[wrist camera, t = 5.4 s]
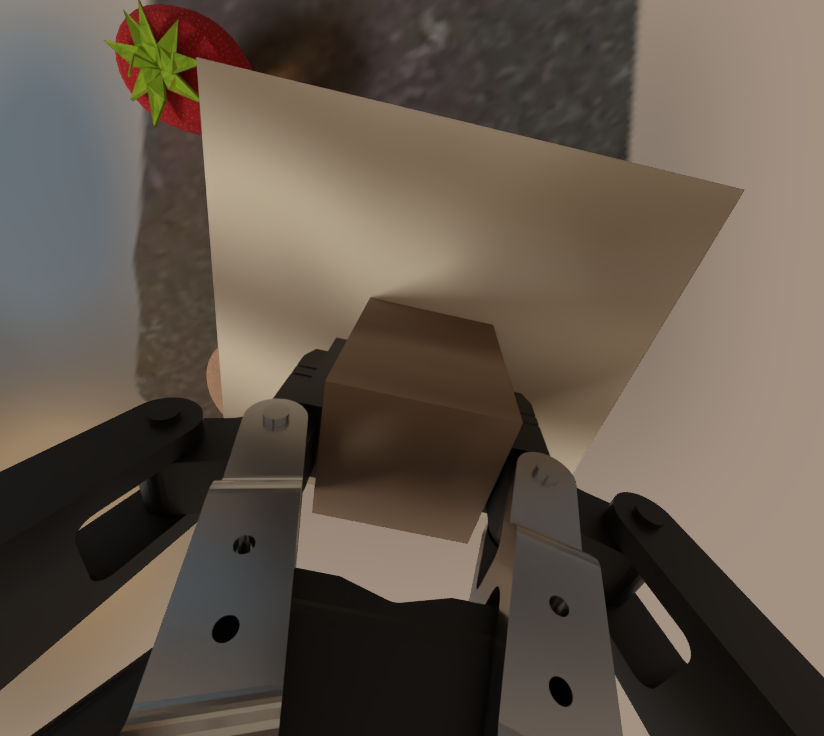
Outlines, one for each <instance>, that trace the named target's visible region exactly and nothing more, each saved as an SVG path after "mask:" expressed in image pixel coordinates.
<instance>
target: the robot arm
mask: <svg viewBox="0 0 824 736" xmlns="http://www.w3.org/2000/svg"><path fill="white" fill-rule="evenodd" d="M346 341H347V339H342V338H338V337H337V338H336V339H335V340H334V342H333V344H332V345H331V347H330V348H329V350H328V351H325V350H320V349H315V350H313V351H311V352H309V353H307V354H305V355H304V356H303V357H302V359H301V360H300V361H299V363H298V364H297V366H296V367H295V368H294V370H293V371H292V374H290V375H289V377H288V378H287V379H286V381H285V382H284V384H283V385H282V386H281V388H280V389H279V390H278V392H277V393H276V395H275V396H274V397H273V399H268V400H263V401H260V402H257V403H255V404H253V405H252V406H250V407H249V408H248V409H247V410H246V411H245V413H244V415H243V417H237V418H203V411H202V408H201V407H200V406H199V405H198V404H197V403H195V402H194V401H191V400H188V399H184V398H162V399H156V400H152V401H149V402H146V403H144V404H142V405H139V406H137V407H135V408H133V409H131V410H129V411H127V412H125V413H122V414H120V415H118V416H116V417H115V418H112V419H110V420H108V421H106V422H104V423H102V424H100V425H97V426H95V427H93V428H91V429H89V430H87V431H85V432H83V433H81V434H79V435H76V436H75V437H72V438H70V439H68V440H66V441H64V442H62V443H60V444H58V445H56V446H53V447H51V448H50V449H47V450H45V451H43V452H41V453H39V454H37V455H35V456H33V457H31V458H28V459H26V460H24V461H22V462H20V463H18V464H16V465H14V466H12V467H9V468H7V469H5V470H3V471H1V472H0V690H1V689H2V688H4V687H5V686H6V685H7V684H8V683H10V682H11V681H12V680H13V679H14V678H15V677H17V676H18V675H19V674H20V673H21V672H22V671H24V670H25V669H26V668H27V667H28V666H29V665H31V664H32V663H33V662H34V661H35V660H36V659H38V658H39V657H40V656H41V655H42V654H43V653H45V652H46V651H47V650H48V649H49V648H50V647H52V646H53V645H54V644H55V643H56V642H58V641H59V640H60V639H61V638H62V637H63V636H65V635H66V634H67V633H68V632H69V631H70V630H72V629H73V628H74V627H75V626H76V625H77V624H79V623H80V622H81V621H82V620H83V619H84V618H85V617H87V616H88V615H89V614H90V613H91V612H93V611H94V610H95V609H96V608H97V607H98V606H99V605H101V604H102V603H103V602H104V601H105V600H107V599H108V598H109V597H110V596H111V595H113V594H114V593H115V592H116V591H117V590H118V589H120V587H122V586H123V585H124V584H125V583H127V582H128V581H129V580H130V579H131V578H132V577H133V576H135V575H136V574H137V573H138V572H139V571H141V570H142V569H143V568H144V567H145V566H146V565H148V564H149V563H150V562H151V561H152V560H153V559H155V558H156V557H157V556H158V555H159V554H160V553H162V552H163V551H164V550H165V549H166V548H167V547H169V546H170V545H171V544H172V543H173V542H174V541H176V540H177V539H178V538H179V537H180V536H181V535H183V534H184V533H185V532H186V531H187V530H189V529H190V528H191V527H192V526H193V525H194V524H196V523H197V524H196V527H195V530H194V533H193V536H192V539H191V541H190V544H189V547H188V550H187V553H186V556H185V558H184V561H183V564H182V567H181V570H180V573H179V575H178V578H177V581H176V584H175V587H174V590H173V592H172V595H171V598H170V601H169V604H168V607H167V610H166V612H165V615H164V618H163V621H162V624H161V626H160V629H159V632H158V635H157V638H156V641H155V643H154V646H153V648H151V649H150V650H149V651H147V652H146V653H144V654H143V655H142V656H140V657H139V658H137V659H136V660H135V661H134V662H132V663H131V664H129V665H128V666H127V667H125V668H124V669H122V670H121V671H120V672H118V673H117V674H116V675H114V676H113V677H111V678H110V679H108V680H107V681H106V682H104V683H103V684H102V685H100V686H99V687H98V688H96V689H95V690H93V691H92V692H91V693H89V694H88V695H86V696H85V697H84V698H82V699H81V700H80V701H78V702H77V703H75V704H74V705H73V706H71V707H70V708H68V709H67V710H66V711H64V712H63V713H62V714H60V715H59V716H57V717H56V718H55V719H53V720H52V721H51V722H49V723H48V724H47V725H45V726H44V727H42V728H41V729H39V730H38V731H37V732H35V733H34V734H32V736H623V734H622V726H621V719H620V711H619V704H618V696H617V689H616V681H615V675H616V677H617V679H618V681H619V682H620V684H621V686H622V688H623V689H624V691H625V693H626V695H627V696H628V698H629V700H630V701H631V703H632V705H633V707H634V709H635V710H636V712H637V714H638V716H639V717H640V719H641V721H642V723H643V724H644V726H645V728H646V730H647V731H648V733H649V735H650V736H824V677H823V676H822V675H821V674H820V673H819V672H818V671H817V670H816V669H815V668H814V667H813V666H812V665H811V664H810V663H809V661H808V660H807V659H806V658H805V657H804V656H803V655H802V654H801V653H800V652H799V651H798V650H797V649H796V648H795V647H794V646H793V645H792V644H791V643H790V641H789V640H788V639H786V637H785V636H784V635H783V634H782V633H781V632H780V631H779V630H778V629H777V628H776V627H775V626H774V625H773V624H772V623H771V622H770V620H769V619H768V618H767V617H766V616H765V615H764V614H763V613H762V612H761V611H760V610H759V609H758V608H757V607H756V606H755V605H754V604H753V603H752V602H751V600H750V599H749V598H748V597H747V596H746V595H745V594H744V593H743V592H742V591H741V590H740V589H739V588H738V587H737V586H736V585H735V584H734V582H733V581H732V580H731V579H730V578H729V577H728V576H727V575H726V574H725V573H724V572H723V571H722V570H721V569H720V568H719V567H718V566H717V565H716V564H715V563H714V562H713V560H712V559H711V558H710V557H709V556H708V555H707V554H706V553H705V552H704V551H703V550H702V549H701V548H700V547H699V546H698V545H697V544H696V543H695V541H694V540H693V539H692V538H691V537H690V536H689V535H688V534H687V533H686V532H685V531H684V530H683V529H682V528H681V527H680V526H679V525H678V524H677V523H676V521H675V520H674V519H673V518H672V517H671V516H670V515H669V514H668V513H667V512H666V511H665V510H663V509H662V508H661V507H660V506H658V505H657V504H655V503H654V502H652V501H651V500H649V499H647V498H645V497H643V496H640V495H638V494H634V493H629V492H623V493H619V494H617V495H616V496H615V497H614V499H613V500H612V501H611V503H608V502H606V501H604V500H601V499H599V498H597V497H595V496H593V495H590V494H588V493H586V492H584V491H582V490H580V489H578V488H577V486H576V481H575V479H574V477H573V475H572V473H571V472H570V471H569V470H568V468H566V467H565V466H564V465H563V464H562V463H561V462H559V461H558V460H556V459H555V458H553V457H551V456H550V454H549V451H548V448H547V446H546V443H545V440H544V437H543V435H542V432H541V429H540V427H539V424H538V421H537V418H535V416H536V415H535V413H534V410H533V407H532V404H531V403H530V402H529V401H528V400H527V399H526V398H525V397H524V396H523V394H522V393H518V392H514V391H513V392H514V395H515V398H516V402H517V405H518V408H519V412H520V415H521V418H522V421H523V424H522V426H521V428H520V431H519V433H518V435H517V437H516V439H515V441H514V444H513V446H512V448H511V450H510V452H509V454H508V457H507V459H506V461H505V463H504V465H503V467H502V470H501V472H500V474H499V476H498V478H497V480H496V483H495V485H494V487H493V489H492V491H491V494H490V496H489V498H488V500H487V502H486V504H485V507H484V509H483V511H482V512H483V513H487V517H488V522H487V524H486V526H485V529H484V531H483V534H482V539H481V544H480V548H479V553H478V559H477V564H476V569H475V574H474V579H473V584H472V589H471V594H470V598H469V601H465V600H459V599H454V598H447V599H436V600H426V601H415V602H404V603H395V602H391V601H388V600H386V599H384V598H382V597H380V596H378V595H376V594H374V593H372V592H370V591H368V590H366V589H364V588H362V587H360V586H358V585H356V584H354V583H352V582H350V581H348V580H346V579H344V578H342V577H340V576H335V575H330V574H325V573H320V572H315V571H310V570H305V569H300V568H296V561H297V551H298V539H299V528H300V516H301V505H302V492H303V491H304V489H305V486H306V484H307V482H308V479H309V477H313V478H316V469H317V458H318V448H319V438H320V427H321V417H322V407H323V397H324V386H325V380H326V378H327V376H328V374H329V373H330V371H331V369H332V367H333V365H334V363H335V361H336V360H337V358H338V356H339V354H340V352H341V350H342V349H343V347H344V345H345V343H346ZM509 379H510V378H509ZM510 382H511V381H510ZM511 385H512V384H511ZM512 388H513V387H512ZM138 485H139V487H140V490H138V491H137V492H136V493H134V494H132V495H131V496H130V497H128V498H127V499H125V500H124V501H122V502H121V503H119V504H118V505H116V506H115V507H113V508H112V509H110V510H109V511H107V512H106V513H104V514H103V515H101V516H100V517H98V518H97V519H95V520H94V521H92V522H91V523H89V524H88V525H86V526H85V527H83V528H82V529H81V530H79V529H80V527H81V526H82V525H83V524H84V522H85V521H86V520H88V519H89V518H90V517H91V516H92V515H94V514H95V513H97V512H98V511H100V510H101V509H103V508H104V507H106V506H107V505H109V504H110V503H112V502H114V501H115V500H116V499H118V498H119V497H121V496H122V495H124V494H126V493H127V492H129V491H130V490H132V489H133V488H135V487H136V486H138ZM78 530H79V531H78ZM643 583H646V584H647V585H648V587H649V588H650V589H651V591H652V592H653V593H654V594H655V596H656V597H657V599H658V600H659V601H660V603H661V604H662V605H663V606H664V608H665V609H666V610H667V612H668V613H669V614H670V616H671V617H672V618H673V619H674V621H675V622H676V624H677V625H678V626H679V628H680V629H681V630H682V632H683V633H684V635H685V637H686V638H687V640H688V643H689V646H690V650H691V659H690V661H689V663H688V664H687V663H686V662H685V661H684V660H683V659H682V657H681V656H680V655H679V653H678V652H677V650H676V649H675V648H674V646H673V645H672V643H671V642H670V641H669V639H668V638H667V637H666V635H665V634H664V632H663V631H662V630H661V628H660V627H659V625H658V624H657V623H656V621H655V620H654V618H653V617H652V616H651V614H650V613H649V611H648V610H647V609H646V607H645V606H644V604H643V603H642V602H641V600H640V599H639V597H638V596H637V595H636V593H635V592H636V591H637V590H638V589H639V588H640V587H641V586H642V585H643Z"/></svg>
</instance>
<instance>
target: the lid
mask: <svg viewBox="0 0 824 736" xmlns="http://www.w3.org/2000/svg"><path fill="white" fill-rule="evenodd" d="M196 62H197V75H198V88H199V101H200V114H201V127H202V140H203V153H204V166H205V179H206V192H207V205H208V218H209V231H210V244H211V257H212V270H213V283H214V296H215V309H216V322H217V335H218V348H219V362H220V375H221V388H222V401H223V414H224V418H237V417H243V415H244V413H245V411H246V410H247V409H248V408H249V407H250V406H252V405H253V404H255V403H257V402H260V401H263V400H268V399H273V397H274V396H275V395H276V393H277V392H278V390H279V389H280V388H281V386H282V385H283V384H284V382H285V381H286V379H287V378H288V377H289V375H290V374H292V371H293V370H294V368H295V367H296V366H297V364H298V363H299V361H300V360H301V359H302V357H303V356H304V355H305V354H307V353H309V352H311V351H313V350H315V349H320V350H325V351H328V350H329V348H330V347H331V345H332V344H333V342H334V340H335V339H336V338H337V337H338V338H342V339H347V341H346V343H345V345H344V347H343V349H342V350H341V352H340V354H339V356H338V358H337V360H336V361H335V363H334V365H333V367H332V369H331V371H330V373H329V374H328V376H327V378H326V380H325V386H324V397H323V407H322V417H321V427H320V438H319V448H318V458H317V469H316V478H313V477H309V479H308V482H307V483H308V484H313V485H315V489H314V499H313V511H312V512H313V513H316V514H322V515H326V516H332V517H336V518H341V519H347V520H351V521H356V522H361V523H367V524H372V525H376V526H381V527H386V528H391V529H397V530H401V531H407V532H411V533H416V534H421V535H426V536H431V537H436V538H442V539H447V540H451V541H456V542H462V543H466V544H467V543H468V541H469V539H470V537H471V535H472V532H473V530H474V528H475V526H476V524H477V522H478V520H479V518H481V519H486V520H488V517H487V513H483V512H482V511H483V509H484V507H485V504H486V502H487V500H488V498H489V496H490V494H491V491H492V489H493V487H494V485H495V483H496V480H497V478H498V476H499V474H500V472H501V470H502V467H503V465H504V463H505V461H506V459H507V457H508V454H509V452H510V450H511V448H512V446H513V444H514V441H515V439H516V437H517V435H518V433H519V431H520V428H521V426H522V424H523V421H522V418H521V415H520V412H519V408H518V405H517V402H516V398H515V395H514V392H518V393H522V394H523V396H524V397H525V398H526V399H527V400H528V401H529V402H530V403H531V404H532V407H533V410H534V413H535V415H536V416H535V418H537V421H538V424H539V427H540V429H541V432H542V435H543V437H544V440H545V443H546V446H547V448H548V451H549V454H550V456H551V457H553V458H555V459H556V460H558V461H559V462H561V463H562V464H563V465H564V466H565V467H566V468H568V470H569V471H570V472H571V473H572V474H573V473H574V471H575V469H576V468H577V466H578V464H579V463H580V461H581V459H582V458H583V456H584V454H585V453H586V451H587V449H588V448H589V446H590V444H591V443H592V441H593V440H594V438H595V436H596V434H597V433H598V431H599V430H600V428H601V426H602V425H603V423H604V421H605V420H606V418H607V416H608V415H609V413H610V411H611V410H612V408H613V406H614V405H615V403H616V402H617V400H618V398H619V396H620V395H621V393H622V392H623V390H624V388H625V387H626V385H627V383H628V382H629V380H630V378H631V377H632V375H633V373H634V371H635V370H636V368H637V367H638V365H639V364H640V362H641V360H642V359H643V357H644V355H645V353H646V352H647V350H648V349H649V347H650V345H651V344H652V342H653V340H654V339H655V337H656V335H657V334H658V332H659V330H660V329H661V327H662V326H663V324H664V322H665V321H666V319H667V317H668V315H669V314H670V312H671V311H672V309H673V307H674V306H675V304H676V302H677V301H678V299H679V297H680V296H681V294H682V292H683V291H684V289H685V287H686V286H687V284H688V283H689V281H690V279H691V278H692V276H693V274H694V273H695V271H696V269H697V267H698V266H699V264H700V263H701V261H702V259H703V258H704V256H705V254H706V253H707V251H708V250H709V248H710V246H711V245H712V243H713V241H714V240H715V238H716V236H717V235H718V233H719V231H720V230H721V228H722V226H723V225H724V223H725V221H726V220H727V218H728V217H729V215H730V213H731V212H732V210H733V208H734V206H735V205H736V203H737V202H738V200H739V198H740V196H741V195H742V193H743V192H744V190H743V189H739V188H734V187H731V186H726V185H722V184H718V183H714V182H710V181H706V180H702V179H698V178H694V177H689V176H685V175H681V174H676V173H673V172H669V171H665V170H660V169H656V168H652V167H648V166H644V165H640V164H636V163H632V162H627V161H623V160H619V159H615V158H611V157H607V156H603V155H599V154H594V153H590V152H586V151H582V150H578V149H574V148H570V147H565V146H561V145H557V144H553V143H549V142H545V141H541V140H537V139H532V138H528V137H524V136H520V135H516V134H512V133H508V132H503V131H499V130H495V129H491V128H487V127H483V126H479V125H475V124H470V123H466V122H462V121H458V120H454V119H450V118H446V117H441V116H437V115H433V114H429V113H425V112H421V111H417V110H413V109H408V108H404V107H400V106H396V105H392V104H388V103H384V102H380V101H375V100H371V99H367V98H363V97H359V96H355V95H351V94H346V93H342V92H338V91H334V90H330V89H326V88H322V87H318V86H313V85H309V84H305V83H301V82H297V81H293V80H289V79H284V78H280V77H276V76H272V75H268V74H264V73H260V72H256V71H251V70H247V69H243V68H239V67H235V66H231V65H227V64H222V63H218V62H214V61H210V60H206V59H202V58H198V57H196ZM509 378H510V379H509ZM510 381H511V382H510ZM511 384H512V385H511ZM512 387H513V388H512ZM513 391H514V392H513Z"/></svg>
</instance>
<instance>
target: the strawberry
mask: <svg viewBox="0 0 824 736" xmlns="http://www.w3.org/2000/svg"><path fill="white" fill-rule="evenodd" d="M138 4H139V9H136V10H134V11H133V12H132V13H131V14H130V15H128V14H127V13H126V12H125V11H124V14H125V16H126V18H125V20H124V21H123V22H122V24H121V25H120V28H119V30H118V33H117V36H116V42H111V41H106V40H104V41H105V42H106V43H107V44H108V45H109V46H110V47H111V48H113V49H114V50H115V52H116V61H117V64H118V67H119V71H120V74H121V76H122V78H123V80H124V82H125V84H126V86H127V88H128V89H129V90H130V92H131V93H132V96H131V100H132V101H134V100H137V101H138V102H139V103H140V104H141V105H142V106H143V107H144V108H145V109H146V110H147V111H149V112H150V113H151V114H152V119H153V124H154V127H157V125H158V122H159V119H160V120H161V121H163V122H165V123H167V124H169V125H171V126H174V127H176V128H178V129H181V130H183V131H186V132H190V133H193V134H197V135H202V127H201V114H200V101H199V88H198V75H197V62H196V57H198V58H202V59H206V60H210V61H214V62H218V63H222V64H227V65H231V66H235V67H239V68H243V69H247V70H251V71H253V69H252V67H251V65H250V63H249V61H248V59H247V58H246V56H245V55H244V53H243V52H242V50H241V49H240V47H239V46H238V45H237V43H236V42H235V41H234V39H233V38H232V37H231V36H230V35H229V34H228V33H227V32H226V31H225V30H224V29H223V28H222V27H221V26H219V25H218V24H217V23H215V22H214V21H212V20H211V19H210V18H208V17H206V16H204V15H202V14H200V13H198V12H195V11H192V10H188V9H185V8H181V7H177V6H172V5H163V4H154V5H147V6H144V7H142V4H141V2H140V0H138Z"/></svg>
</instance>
